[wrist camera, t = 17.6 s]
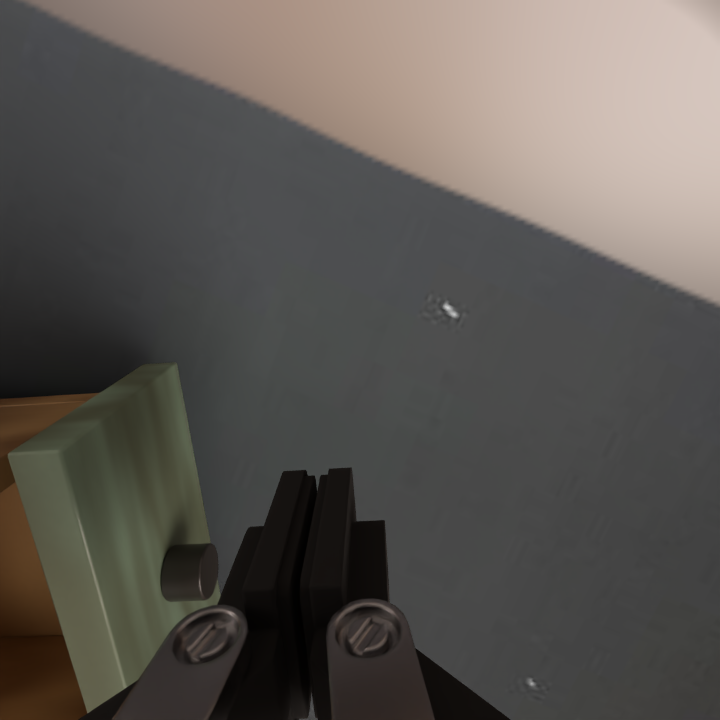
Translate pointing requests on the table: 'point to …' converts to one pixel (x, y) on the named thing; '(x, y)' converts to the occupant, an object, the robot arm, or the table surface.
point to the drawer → (96, 541)
